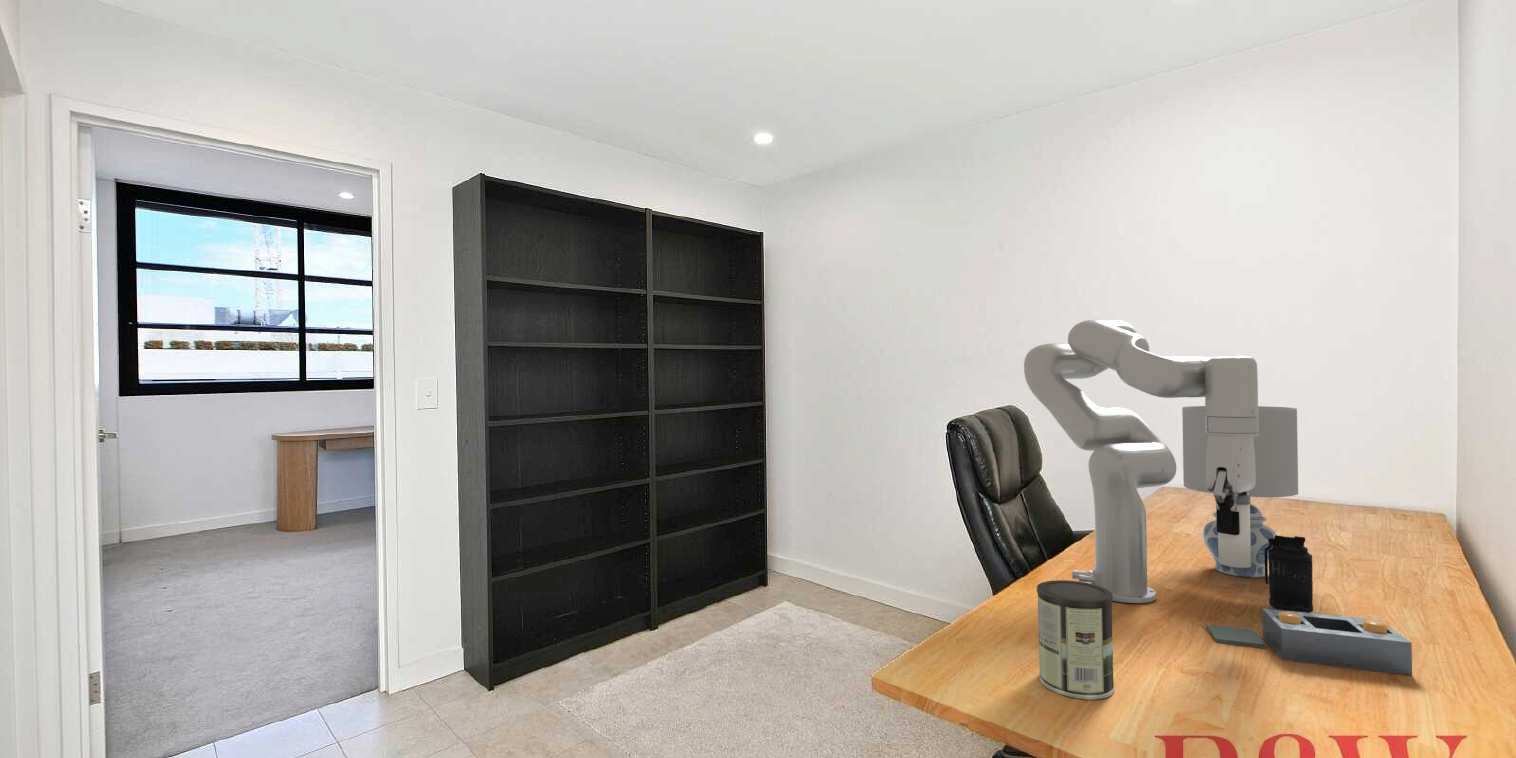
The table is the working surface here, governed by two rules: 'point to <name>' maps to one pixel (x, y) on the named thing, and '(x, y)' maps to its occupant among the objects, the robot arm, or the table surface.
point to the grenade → (1289, 574)
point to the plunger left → (1289, 617)
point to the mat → (1235, 636)
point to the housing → (1337, 642)
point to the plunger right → (1374, 626)
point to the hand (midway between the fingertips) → (1233, 530)
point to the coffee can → (1075, 639)
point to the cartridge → (1237, 538)
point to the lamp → (1272, 474)
